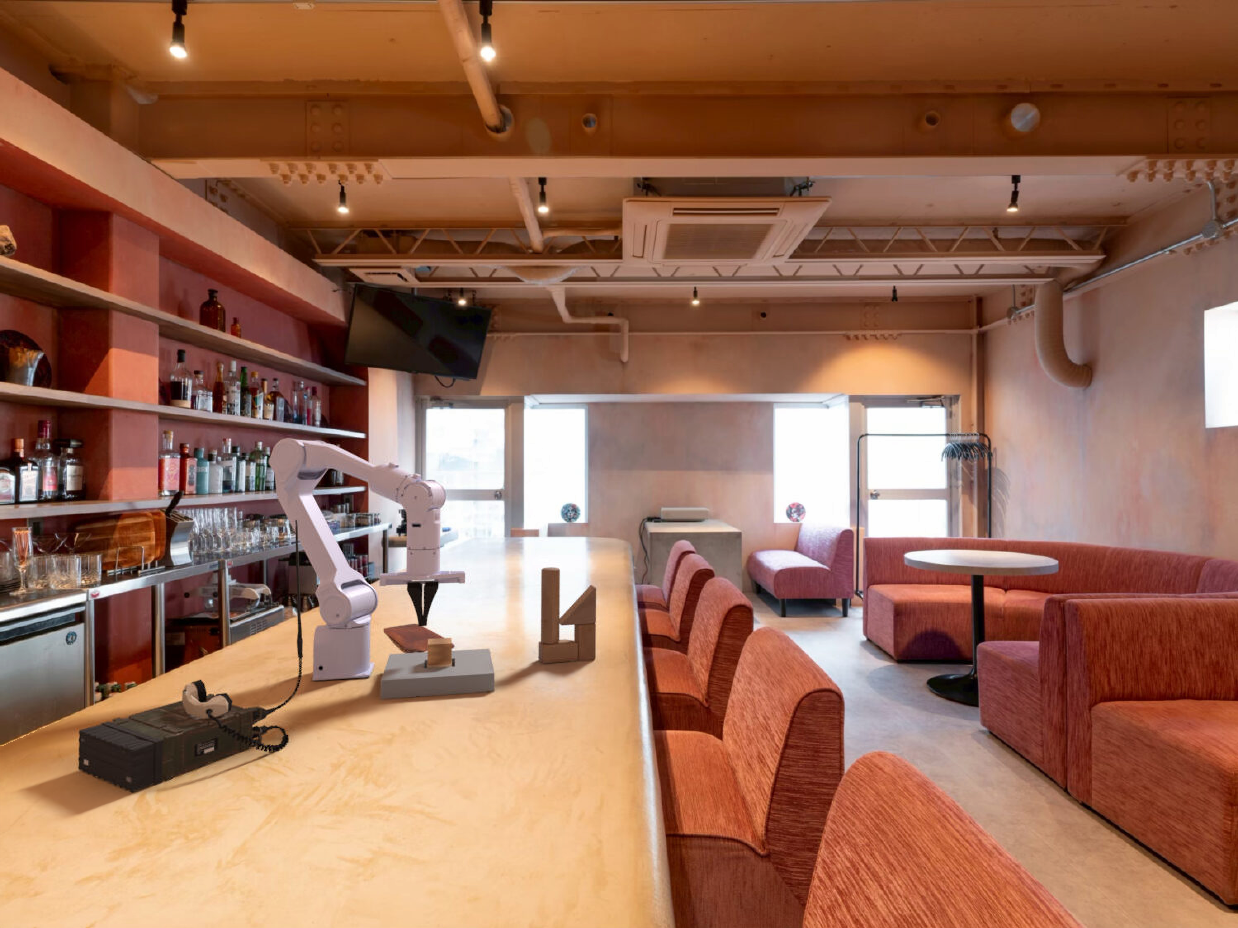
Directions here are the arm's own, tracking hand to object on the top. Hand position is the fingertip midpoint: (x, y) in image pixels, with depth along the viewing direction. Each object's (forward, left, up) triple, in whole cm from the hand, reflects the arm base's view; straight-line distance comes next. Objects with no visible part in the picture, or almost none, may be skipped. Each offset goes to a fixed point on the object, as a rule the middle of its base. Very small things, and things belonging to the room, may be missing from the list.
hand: (422, 624), depth 120 cm
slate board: (+3, -2, -9) cm, 10 cm away
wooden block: (+27, +6, -10) cm, 29 cm away
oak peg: (+3, -2, -10) cm, 10 cm away
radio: (-25, -26, -10) cm, 38 cm away
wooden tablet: (-2, +31, -10) cm, 33 cm away
